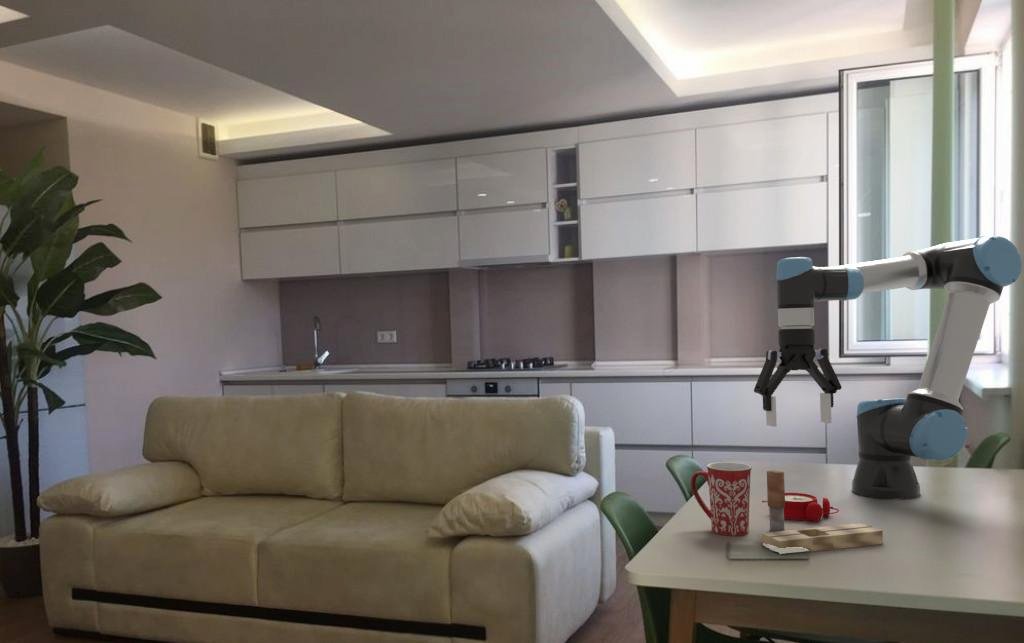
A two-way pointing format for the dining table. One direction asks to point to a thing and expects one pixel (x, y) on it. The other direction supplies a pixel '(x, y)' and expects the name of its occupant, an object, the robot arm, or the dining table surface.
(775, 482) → the wooden tool handle
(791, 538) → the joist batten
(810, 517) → the alarm clock
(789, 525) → the dining table surface
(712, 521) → the mug
